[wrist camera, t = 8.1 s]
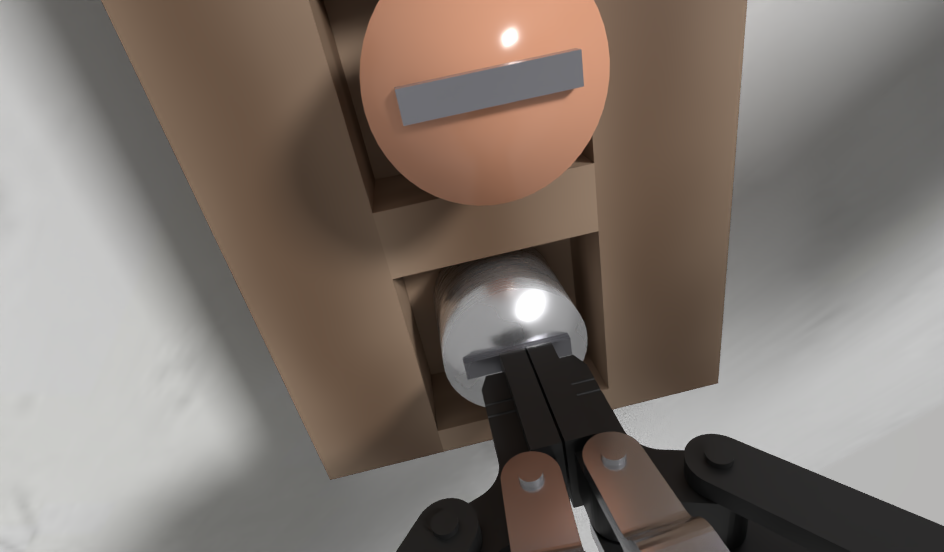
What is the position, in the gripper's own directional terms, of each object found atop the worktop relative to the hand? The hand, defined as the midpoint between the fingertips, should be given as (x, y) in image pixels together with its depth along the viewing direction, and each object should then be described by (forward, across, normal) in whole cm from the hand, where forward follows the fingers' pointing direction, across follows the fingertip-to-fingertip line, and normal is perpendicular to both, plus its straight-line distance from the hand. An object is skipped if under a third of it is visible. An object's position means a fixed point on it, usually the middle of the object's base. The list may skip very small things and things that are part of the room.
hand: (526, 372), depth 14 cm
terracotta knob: (+2, 0, -8) cm, 8 cm away
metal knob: (+4, 0, 0) cm, 4 cm away
